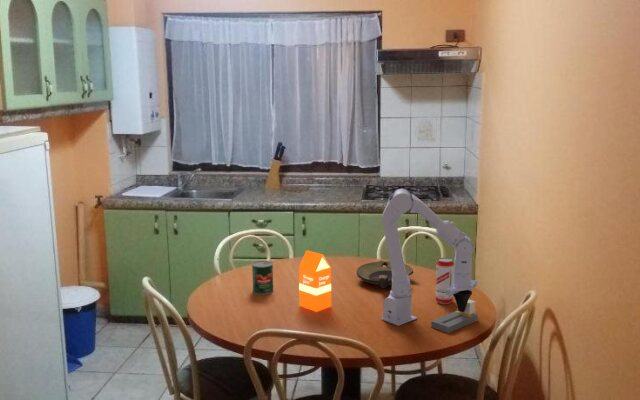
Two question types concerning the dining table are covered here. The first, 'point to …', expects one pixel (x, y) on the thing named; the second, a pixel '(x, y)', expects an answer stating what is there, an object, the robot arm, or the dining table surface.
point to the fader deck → (453, 321)
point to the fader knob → (469, 307)
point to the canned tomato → (262, 277)
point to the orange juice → (314, 282)
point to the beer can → (444, 279)
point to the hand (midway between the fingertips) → (461, 311)
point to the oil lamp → (379, 273)
